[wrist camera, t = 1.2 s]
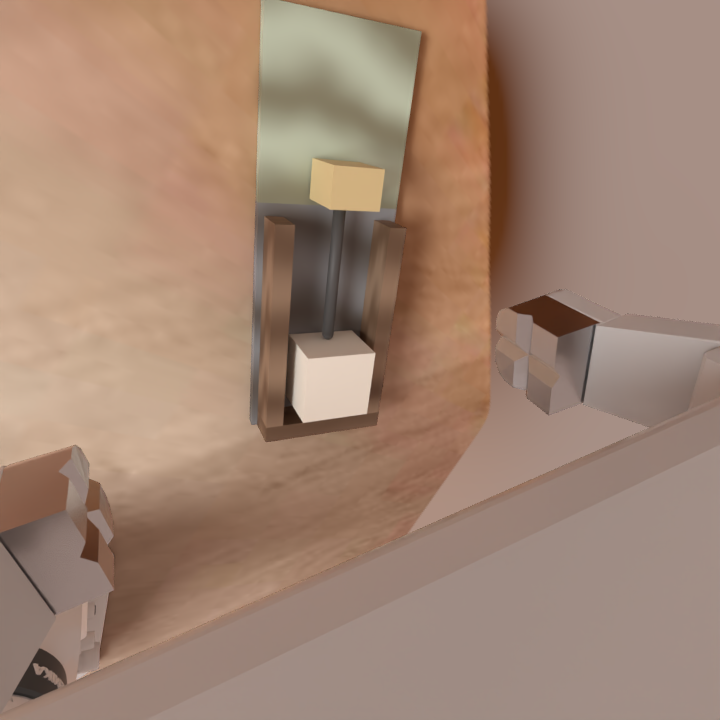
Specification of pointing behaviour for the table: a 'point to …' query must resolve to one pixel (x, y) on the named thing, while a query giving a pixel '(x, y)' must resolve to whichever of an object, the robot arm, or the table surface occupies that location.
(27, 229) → the table surface
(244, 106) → the table surface
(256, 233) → the shelf lane
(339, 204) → the block plunger with rod
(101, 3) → the table surface
